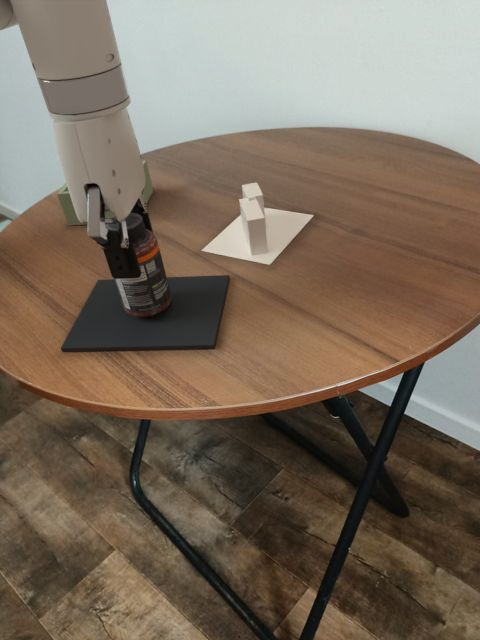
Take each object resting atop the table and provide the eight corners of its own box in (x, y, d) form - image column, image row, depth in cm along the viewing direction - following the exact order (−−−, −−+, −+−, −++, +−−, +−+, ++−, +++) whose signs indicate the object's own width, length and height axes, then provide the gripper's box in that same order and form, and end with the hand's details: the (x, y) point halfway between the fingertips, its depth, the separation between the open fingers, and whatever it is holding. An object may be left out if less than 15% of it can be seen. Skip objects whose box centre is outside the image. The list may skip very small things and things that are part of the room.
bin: (68, 225, 85) (56, 193, 81) (91, 194, 93) (81, 164, 90) (137, 222, 83) (128, 189, 80) (153, 190, 92) (146, 160, 88)
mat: (62, 352, 60) (60, 348, 60) (99, 283, 71) (97, 279, 70) (214, 348, 58) (213, 344, 58) (229, 278, 69) (229, 274, 68)
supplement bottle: (135, 289, 66) (110, 207, 59) (179, 291, 65) (159, 207, 58) (116, 318, 62) (87, 233, 55) (162, 321, 61) (139, 234, 53)
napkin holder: (271, 265, 70) (267, 226, 66) (200, 251, 75) (193, 214, 71) (314, 214, 80) (313, 178, 76) (249, 205, 84) (245, 170, 80)
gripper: (78, 69, 54) (124, 225, 66) (6, 126, 42) (78, 306, 54) (147, 64, 54) (181, 222, 65) (95, 119, 41) (149, 304, 53)
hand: (134, 259), depth 59 cm, fingers closed on supplement bottle, 6 cm apart
